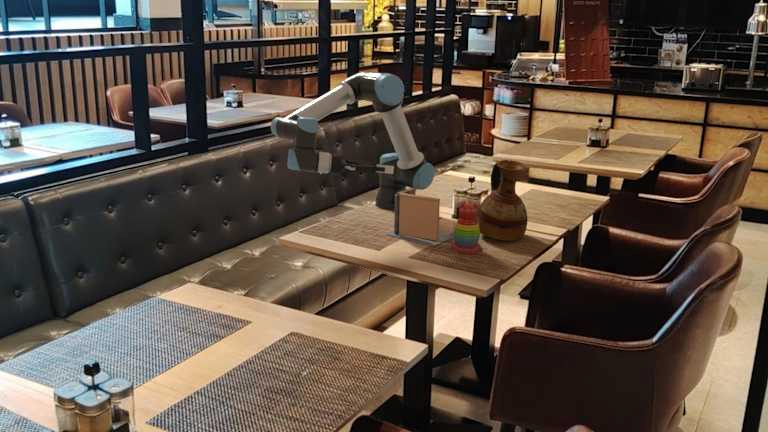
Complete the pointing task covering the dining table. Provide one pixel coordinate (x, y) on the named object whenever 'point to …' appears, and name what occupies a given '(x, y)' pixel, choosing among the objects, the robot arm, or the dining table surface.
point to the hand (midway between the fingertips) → (393, 170)
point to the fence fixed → (397, 205)
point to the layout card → (441, 238)
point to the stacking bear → (467, 230)
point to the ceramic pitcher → (503, 204)
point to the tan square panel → (419, 216)
